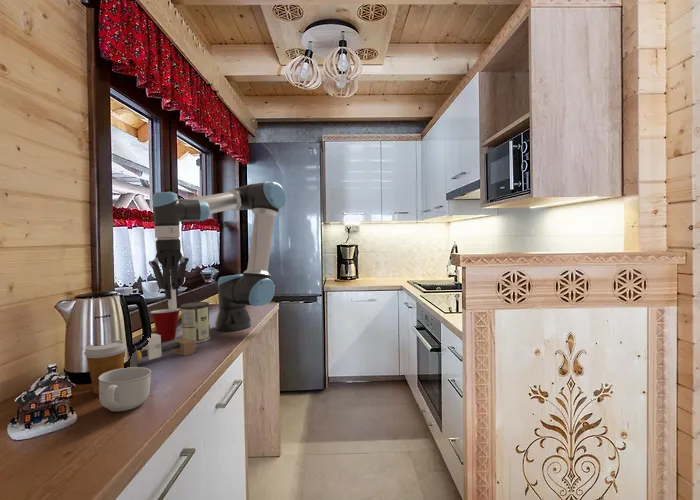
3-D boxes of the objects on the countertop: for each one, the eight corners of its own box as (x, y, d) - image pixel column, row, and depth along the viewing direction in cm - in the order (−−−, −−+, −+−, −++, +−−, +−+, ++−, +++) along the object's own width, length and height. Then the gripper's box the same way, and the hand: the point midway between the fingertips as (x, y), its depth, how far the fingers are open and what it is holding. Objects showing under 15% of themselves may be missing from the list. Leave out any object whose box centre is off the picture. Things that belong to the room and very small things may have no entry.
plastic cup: (180, 334, 158) (178, 305, 157) (183, 340, 149) (182, 309, 148) (150, 338, 152) (149, 308, 152) (152, 344, 143) (151, 313, 143)
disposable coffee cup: (109, 381, 107) (107, 339, 106) (137, 383, 104) (134, 340, 104) (77, 395, 98) (74, 349, 97) (106, 398, 95) (104, 351, 95)
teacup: (119, 396, 96) (117, 365, 96) (161, 396, 96) (159, 364, 95) (78, 423, 82) (76, 387, 82) (127, 423, 82) (125, 387, 82)
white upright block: (154, 354, 126) (153, 333, 126) (161, 356, 123) (160, 335, 123) (142, 357, 123) (141, 336, 122) (149, 359, 120) (148, 338, 120)
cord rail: (184, 349, 136) (183, 330, 135) (195, 352, 131) (194, 332, 131) (117, 367, 118) (116, 345, 118) (127, 372, 114) (126, 349, 114)
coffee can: (190, 336, 154) (189, 301, 154) (215, 336, 153) (213, 301, 153) (176, 343, 144) (175, 306, 144) (202, 343, 143) (201, 306, 143)
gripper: (153, 239, 120) (159, 313, 121) (192, 237, 130) (196, 305, 132) (142, 239, 124) (147, 311, 126) (180, 238, 135) (184, 303, 136)
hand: (172, 308), depth 129 cm, fingers closed
